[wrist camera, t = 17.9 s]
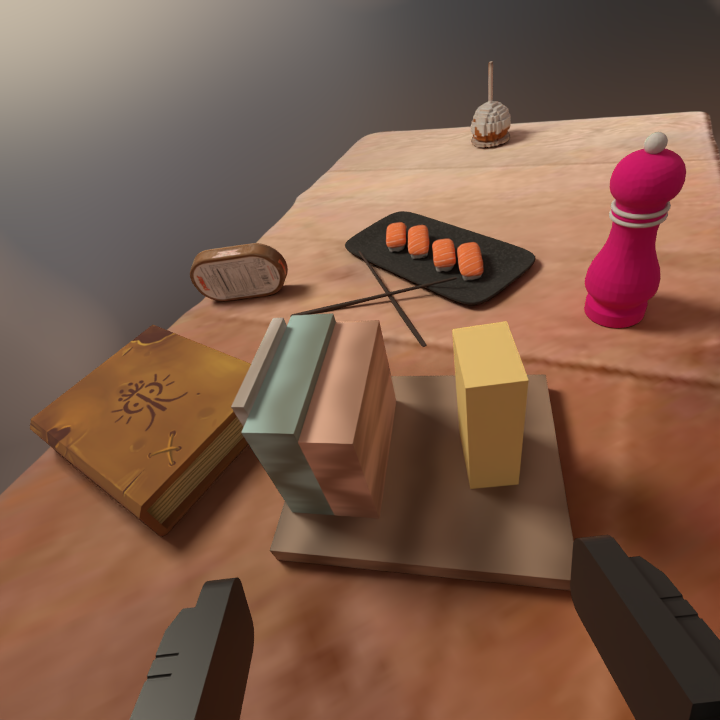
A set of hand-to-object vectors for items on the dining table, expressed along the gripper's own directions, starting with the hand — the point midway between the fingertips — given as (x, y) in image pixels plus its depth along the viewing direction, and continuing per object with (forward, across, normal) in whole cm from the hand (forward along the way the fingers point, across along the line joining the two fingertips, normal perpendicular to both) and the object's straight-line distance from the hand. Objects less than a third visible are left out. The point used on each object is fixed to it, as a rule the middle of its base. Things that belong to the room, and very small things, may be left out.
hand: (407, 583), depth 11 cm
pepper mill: (+42, -30, +8) cm, 52 cm away
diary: (+40, +25, +16) cm, 50 cm away
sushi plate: (+57, -6, +5) cm, 58 cm away
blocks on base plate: (+28, -4, +17) cm, 33 cm away
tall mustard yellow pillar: (+26, -10, +15) cm, 31 cm away
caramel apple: (+98, -32, -14) cm, 104 cm away
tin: (+63, +18, +5) cm, 65 cm away
